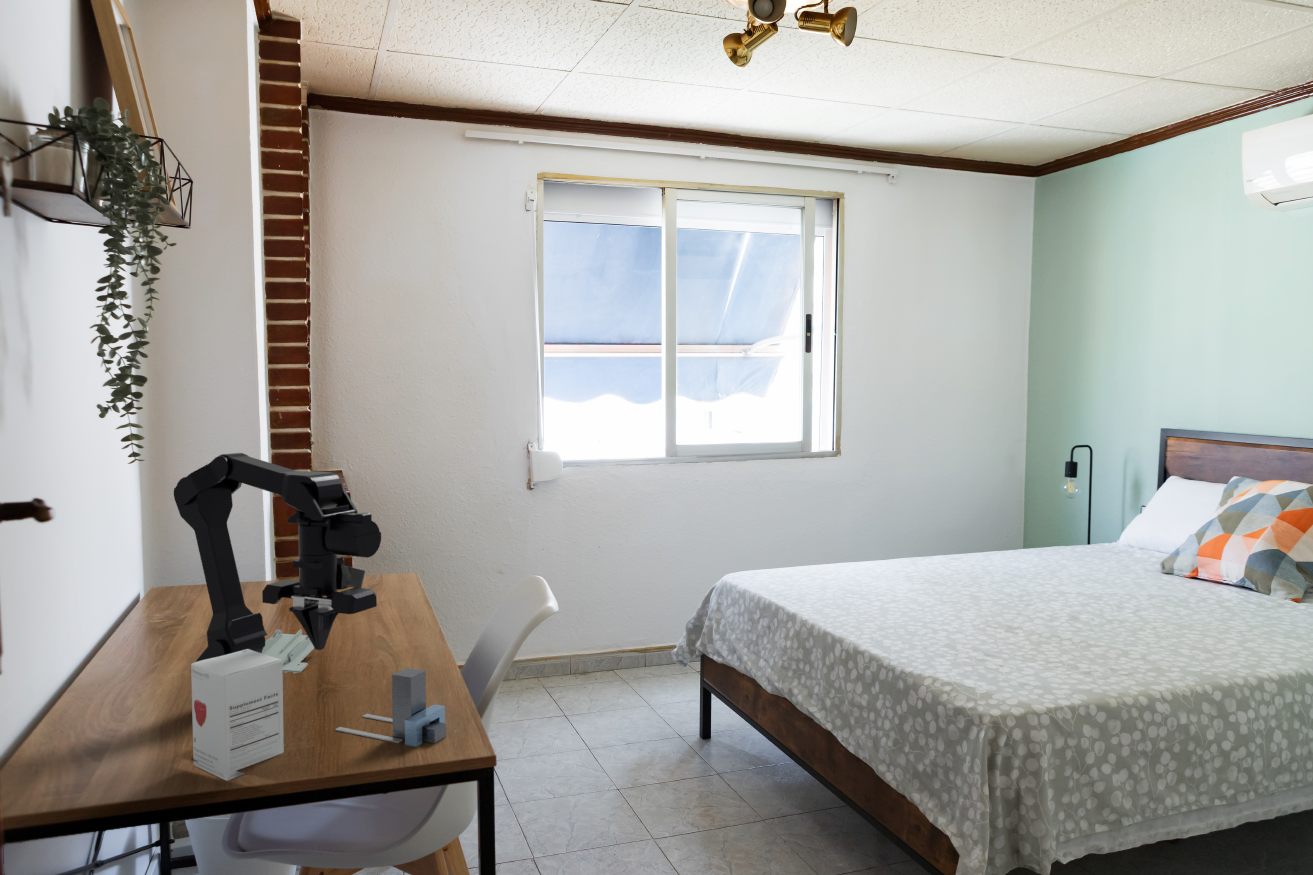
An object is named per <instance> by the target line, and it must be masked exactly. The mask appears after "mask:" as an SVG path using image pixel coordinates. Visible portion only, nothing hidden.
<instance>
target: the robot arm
mask: <svg viewBox="0 0 1313 875" xmlns="http://www.w3.org/2000/svg"><path fill="white" fill-rule="evenodd" d="M242 484H245V485H247V486H250V487H254V488H257V489H260V490H263V491H266V492H269V493H273V494H275V495H278V496H280V497H281V498H282V499H283V501H284V503H286V505H288V506H290V507H292V508H294V509H296V511H295V512H294V513H293V514H292V515H291V516H290V517H289V518H288V519H287V523H288V524H295V525H298V559H295V560H293V561H292V566H293V568H297V569H299V570H298V571H299V573H298V574H299V577H298V578H299V580H296V579H284V580H278V581H275V582H272V583H267V584H266V585H265V586H264V588H263V589H262V591H261V592H262V594H261V595H262V597H261V598H262V599H261V600H262V603H264V604H270V605H277V604H278V603H279V602H280V601H281V600H282V599H283V598H285V599H291V600H292V606H291V607H290V606H289V608H288V610H289V612H291V613H292V614H294V616H295V618H296V619H297V620H298V623H300V625H301V627H302V628H303V630H304V632H305V633H306V635H308V637H309V639H310V641H311V642H312V644H313V646H314V650H316V651H321V650H324V649H325V647H326V644H327V641H328V638H329V635H330V633H331V630H332V627H333V625H334V623H335V620H336V617H337V616H338V615H339V614H343V615H344V614H345V615H354V614H357V613H358V614H359V613H361V612H364V611H367V610H369V609H372V608H373V609H374V608H376V607H377V605H378V604H377V593H376V592H375V591H374V590H373V588H365V587H363V583H364V578H365V574H366V570H364V569H360V568H356V567H352V566H347V565H345V559H344V556H347V557H356V558H357V557H358V558H365V559H367V558H371V557H373V556H374V555H376V553H377V552H378V550H379V548H380V546H381V542H382V532H380V531H381V530H380V527H379V526H378V524H377V523H376V521H373V519H372V517H373V516H372V513H371V512H361V513H358V510H357V508H356V506H355V503H354V502H353V501H352V500H351V498H350V496H349V494H348V492H347V491H346V489H345V487H344V485H343V484H342V481H341V477H339V475H338V474H336V473H334V472H329V471H316V470H315V471H313V470H312V471H307V470H306V471H303V470H294V469H291V468H288V467H284V466H283V465H278V464H275V463H271V462H268V461H264V460H261V459H259V458H255V457H251V456H249V455H247V454H245V453H243V452H235V453H224V454H223V453H222V454H220V455H218V456H216V457H214V459H212V460H211V461H210V462H209V463H207V464H206V465H204V466H202V467H199V468H198V469H196V470H194V471H192V472H191V473H189V474H188V475H186V476H184V477H181V478H180V479H179V480H178V482H177V483H176V486H175V487H174V489H173V498H174V499H173V500H174V501H175V504H176V507H177V510H178V512H179V513H178V514H179V515H180V518H182V519H183V520H184V522H185V523H186V524H187V525H188V526H190V528H192V529H193V531H194V535H195V539H196V543H197V548H198V553H199V557H200V562H201V566H202V570H203V574H204V579H205V583H206V589H207V593H208V596H209V602H210V605H211V611H212V615H211V619H210V622H209V624H208V626H207V627H208V628H207V631H206V641H207V647H206V648H205V649H204V650H203V652H202V653H201V654H200V655H199V657H198V658H196V660H195V662H198V661H201V660H205V659H210V658H215V657H219V656H223V655H227V654H231V653H234V652H238V651H242V650H245V649H250V650H253V651H256V652H259V653H262V650H263V647H265V640H266V636H267V635H268V633H267V632H266V630H265V627H264V620H263V616H262V614H261V612H255V613H253V611H252V610H250V609H249V608H248V606H247V605H246V602H245V599H244V595H243V594H244V592H243V589H242V584H241V581H240V577H239V576H240V575H239V571H238V568H237V563H236V559H235V554H234V553H235V552H234V549H233V545H232V541H231V536H230V531H229V527H228V521H229V518H230V515H231V512H232V509H233V506H234V505H233V504H234V503H233V495H234V493H235V492H236V491H238V490H239V489H240V488H241V487H242ZM345 589H346V590H345ZM339 590H342V591H339Z"/></svg>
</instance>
